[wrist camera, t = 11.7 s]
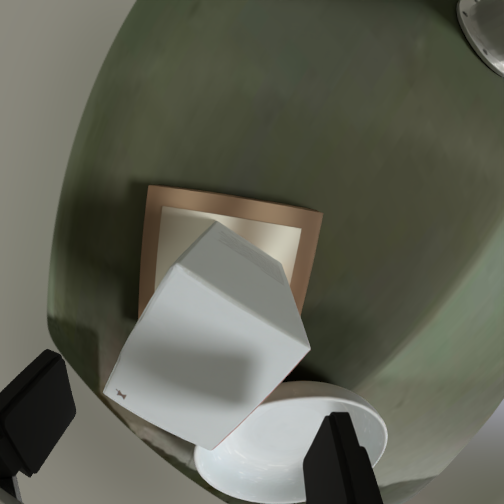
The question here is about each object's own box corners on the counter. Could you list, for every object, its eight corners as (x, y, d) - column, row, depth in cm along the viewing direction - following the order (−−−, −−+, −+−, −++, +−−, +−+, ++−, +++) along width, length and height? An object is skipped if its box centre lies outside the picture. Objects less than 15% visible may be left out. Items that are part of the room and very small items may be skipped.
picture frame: (315, 209, 26) (323, 213, 23) (284, 349, 29) (287, 367, 26) (159, 184, 25) (147, 185, 22) (148, 325, 28) (137, 340, 25)
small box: (229, 337, 25) (210, 455, 12) (166, 298, 24) (97, 394, 12) (284, 262, 23) (315, 349, 11) (216, 217, 23) (168, 258, 10)
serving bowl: (173, 432, 32) (161, 471, 25) (270, 321, 28) (274, 360, 21) (297, 481, 35) (301, 515, 28) (401, 396, 31) (422, 431, 24)
